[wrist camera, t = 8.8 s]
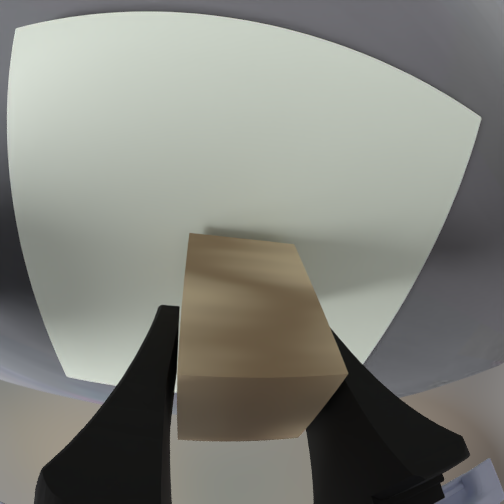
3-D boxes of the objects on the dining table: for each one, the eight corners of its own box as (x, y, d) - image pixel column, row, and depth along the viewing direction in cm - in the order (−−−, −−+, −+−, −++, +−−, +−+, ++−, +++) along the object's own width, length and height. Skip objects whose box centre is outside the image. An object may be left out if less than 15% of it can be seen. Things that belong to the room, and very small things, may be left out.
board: (71, 359, 17) (66, 376, 16) (34, 30, 7) (15, 28, 6) (338, 373, 21) (344, 388, 20) (461, 110, 11) (481, 117, 10)
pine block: (182, 312, 13) (177, 439, 8) (189, 232, 11) (177, 374, 6) (270, 318, 14) (298, 437, 9) (294, 244, 12) (348, 373, 7)
